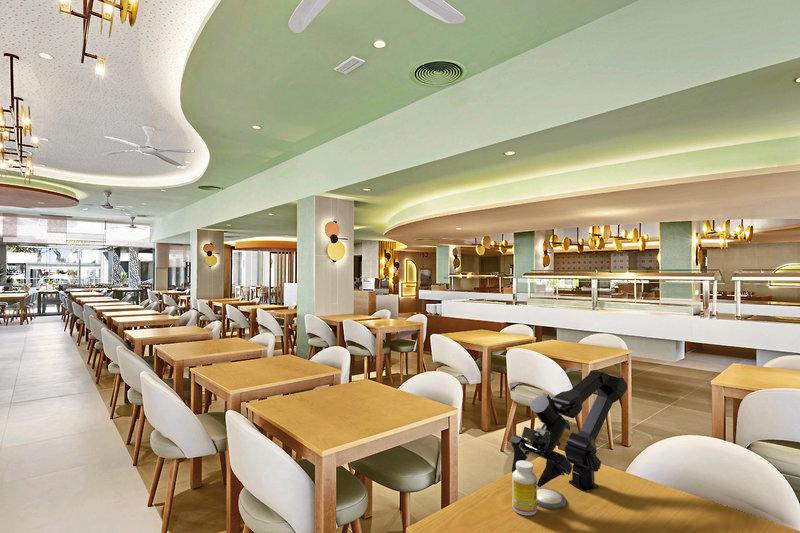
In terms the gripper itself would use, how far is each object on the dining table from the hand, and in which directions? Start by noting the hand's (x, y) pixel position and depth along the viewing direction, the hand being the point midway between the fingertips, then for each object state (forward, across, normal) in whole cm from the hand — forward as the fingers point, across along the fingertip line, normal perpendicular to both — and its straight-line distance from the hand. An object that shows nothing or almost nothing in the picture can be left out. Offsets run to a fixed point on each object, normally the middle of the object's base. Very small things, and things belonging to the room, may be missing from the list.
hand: (525, 479), depth 117 cm
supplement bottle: (+6, 0, +6) cm, 9 cm away
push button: (-1, 0, +13) cm, 13 cm away
